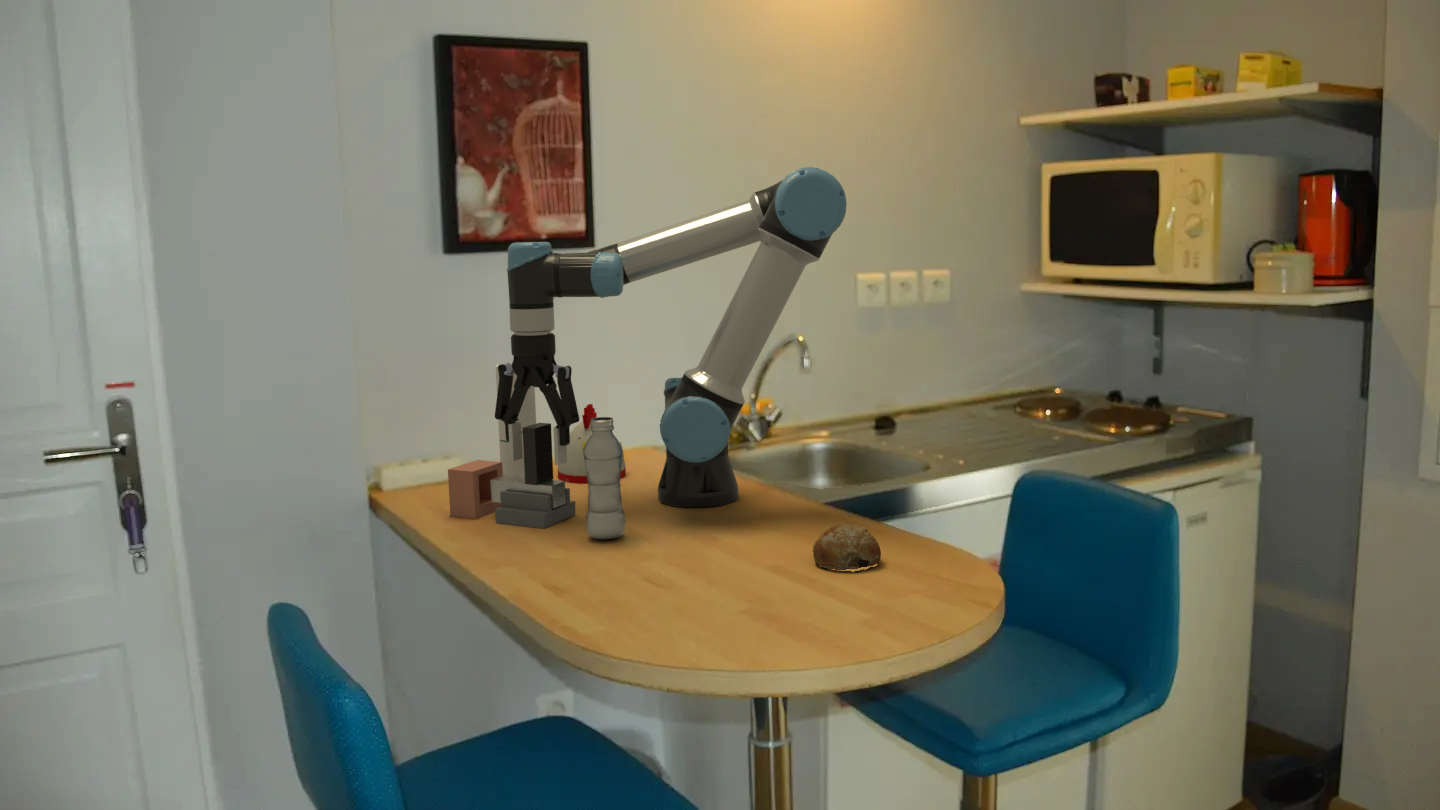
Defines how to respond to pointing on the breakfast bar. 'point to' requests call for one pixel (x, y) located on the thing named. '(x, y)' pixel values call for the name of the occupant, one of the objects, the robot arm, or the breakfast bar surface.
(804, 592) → the breakfast bar surface
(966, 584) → the breakfast bar surface
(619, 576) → the breakfast bar surface
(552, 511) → the grey stepped base
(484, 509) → the socket block
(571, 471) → the kitchen timer
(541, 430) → the black and grey block
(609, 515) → the plastic bottle
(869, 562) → the bread roll
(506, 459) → the cylindrical container
